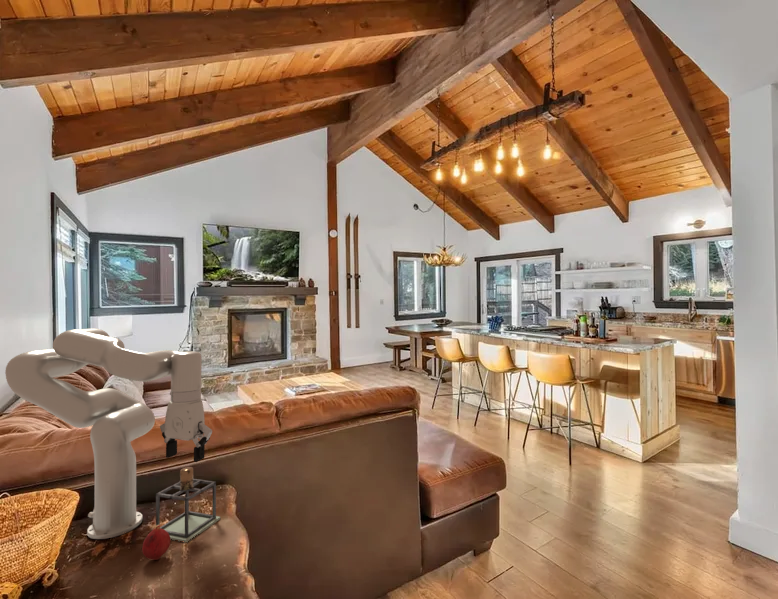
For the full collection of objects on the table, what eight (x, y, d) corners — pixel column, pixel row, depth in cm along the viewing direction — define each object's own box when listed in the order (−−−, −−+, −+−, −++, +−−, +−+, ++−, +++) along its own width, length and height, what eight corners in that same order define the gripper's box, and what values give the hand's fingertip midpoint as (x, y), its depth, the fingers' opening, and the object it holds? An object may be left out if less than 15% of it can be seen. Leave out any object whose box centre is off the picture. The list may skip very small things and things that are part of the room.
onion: (157, 569, 90) (157, 533, 90) (136, 566, 91) (136, 531, 91) (175, 553, 95) (175, 520, 96) (155, 551, 96) (155, 518, 97)
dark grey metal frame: (155, 532, 104) (155, 474, 104) (187, 512, 114) (187, 460, 114) (186, 538, 101) (186, 479, 101) (215, 517, 111) (215, 464, 111)
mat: (151, 535, 103) (151, 533, 103) (187, 513, 115) (187, 511, 115) (186, 542, 100) (186, 540, 100) (220, 518, 111) (220, 516, 111)
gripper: (150, 396, 108) (149, 459, 107) (200, 401, 102) (199, 467, 102) (173, 391, 115) (172, 450, 114) (221, 395, 109) (220, 456, 109)
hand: (185, 458), depth 108 cm, fingers open, 9 cm apart
